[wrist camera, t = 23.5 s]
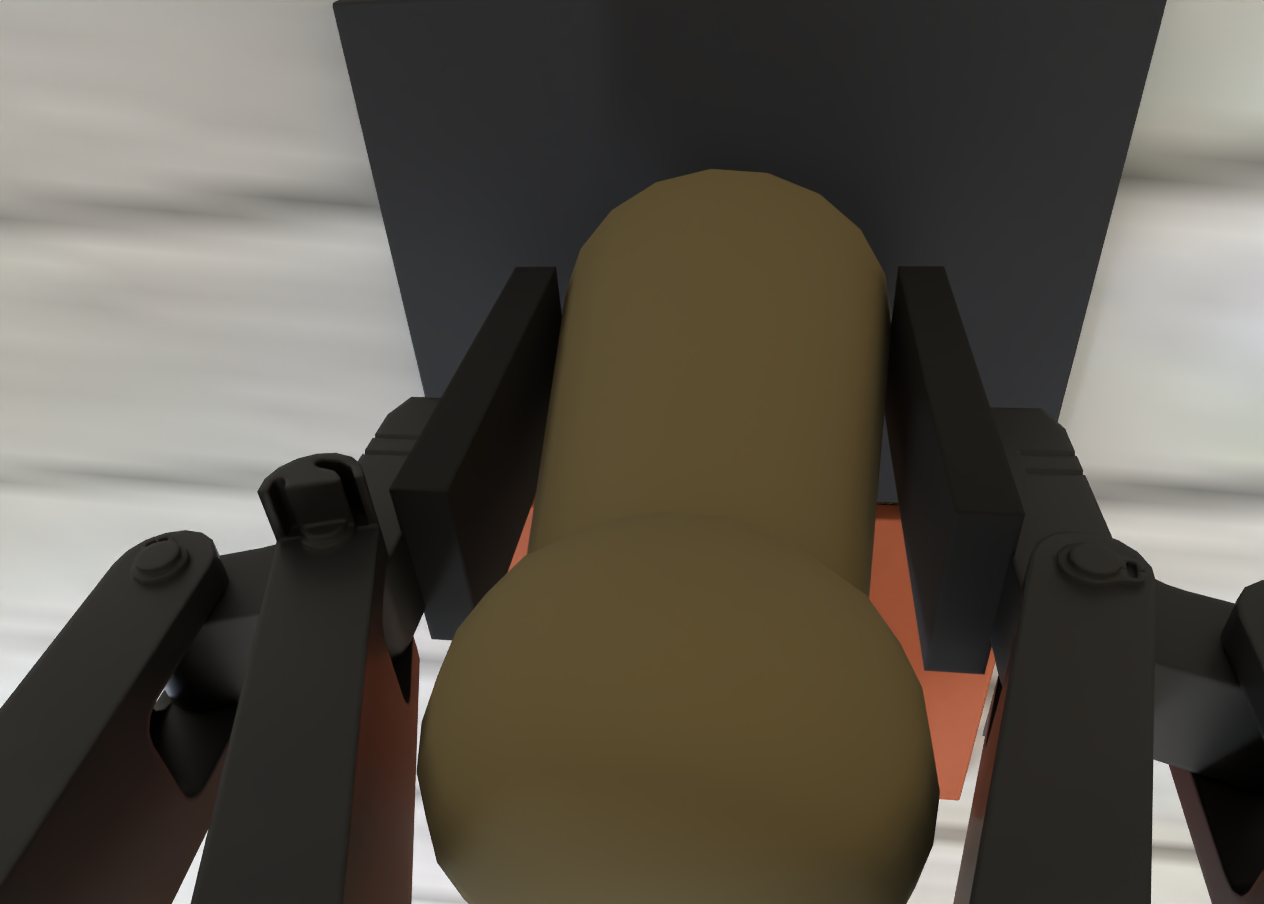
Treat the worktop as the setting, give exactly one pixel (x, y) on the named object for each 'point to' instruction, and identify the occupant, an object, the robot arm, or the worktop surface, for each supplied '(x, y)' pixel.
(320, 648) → the robot arm
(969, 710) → the terracotta mat
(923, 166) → the charcoal mat
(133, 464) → the worktop surface
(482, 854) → the olive rounded bottle shape
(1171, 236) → the worktop surface
